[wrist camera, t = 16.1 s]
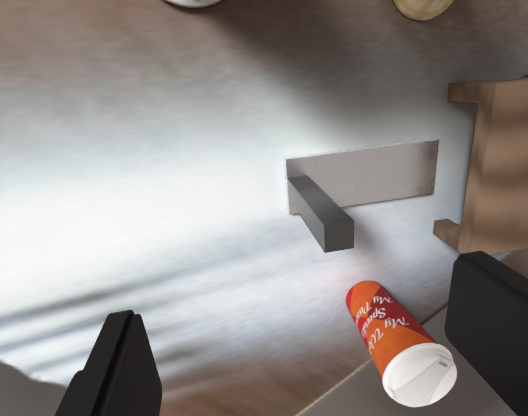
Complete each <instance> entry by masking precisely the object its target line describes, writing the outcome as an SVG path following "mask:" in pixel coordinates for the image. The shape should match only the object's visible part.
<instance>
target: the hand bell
mask: <svg viewBox="0 0 528 416" xmlns="http://www.w3.org/2000/svg"><path fill="white" fill-rule="evenodd" d="M393 1H394V3H395V5H396V7H397V8H398V9H399V11H400V12H401V13H403V14H404V15H405V16H406V17H408V18H411V19H414V20H419V21H423V20H428V19H432V18H434V17H436V16H438V15H440V14H441V13H443V12H444V11H445V10H446V9H447V8H448V7H449V6H450V5H451V3H452V2H453V1H454V0H393Z"/></svg>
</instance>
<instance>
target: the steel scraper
mask: <svg viewBox="0 0 528 416" xmlns="http://www.w3.org/2000/svg"><path fill="white" fill-rule="evenodd" d="M438 143H439V140H437V139H426V140H418V141H410V142H402V143H394V144H387V145H379V146H371V147H363V148H355V149H347V150H340V151H332V152H324V153H316V154H308V155H301V156H293V157H285V158H284V167H285V181H286V194H287V208H288V213H289V214H296V213H299V214H300V216H301V217H302V219H303V221H304V222H305V224H306V225H307V227H308V228H309V230H310V231H311V233H312V234H313V236H314V237H315V239H316V240H317V242H318V243H319V245H320V246H321V248H322V249H323V251H324V252H325V253H326V252H332V251H339V250H345V249H351V248H354V220H353V219H352V218H351V217H350V216H349V215H348V214H346V213H345V212H344V211H343V210H342V209H341V208H340V207H344V206H351V205H358V204H365V203H371V202H378V201H385V200H392V199H399V198H406V197H412V196H419V195H426V194H433V191H434V181H435V172H436V162H437V153H438Z"/></svg>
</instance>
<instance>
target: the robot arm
mask: <svg viewBox="0 0 528 416" xmlns="http://www.w3.org/2000/svg"><path fill="white" fill-rule="evenodd" d="M165 1H167V2H170V3H172V4H175V5H177V6H183V7H188V8H201V7H206V6H210V5H214V4H216V3H218V2H220V1H222V0H199V1H197V0H165ZM445 334H446V337H447V338H448V340H449V341H450V343H451V344H452V345H453V346H454V347H455V348H456V349H457V350H458V351H459V352H460V353H461V354H462V356H463V357H464V358H465V359H466V360H467V361H468V362H469V363H470V364H471V365H472V366H473V368H474V369H475V370H476V371H477V372H478V373H479V374H480V375H481V376H482V377H483V379H484V380H485V381H486V382H487V383H488V384H489V385H490V386H491V387H492V388H493V389H494V390H495V392H496V393H497V394H498V395H499V396H500V397H501V398H502V399H503V400H504V401H505V403H506V404H507V405H508V406H509V407H510V408H511V409H512V410H513V411H514V412H515V413H516V414H517V416H528V279H527V278H525V277H524V276H522V275H521V274H519V273H517V272H516V271H514V270H512V269H511V268H509V267H508V266H506V265H504V264H503V263H501V262H500V261H498V260H496V259H495V258H493V257H492V256H490V255H488V254H487V253H485V252H483V251H475V252H469V253H463V254H460V255H459V257H458V259H457V260H455V262H454V265H453V272H452V280H451V287H450V294H449V301H448V308H447V315H446V323H445ZM161 400H162V385H161V381H160V378H159V374H158V371H157V368H156V364H155V361H154V357H153V354H152V351H151V347H150V344H149V340H148V337H147V334H146V330H145V327H144V324H143V320H142V317H141V315H140V314H136V315H135V314H134V312H133V311H132V310H127V311H121V312H115V313H110V314H109V315H108V316H107V318H106V320H105V323H104V325H103V327H102V329H101V331H100V334H99V336H98V338H97V340H96V343H95V345H94V347H93V349H92V351H91V354H90V356H89V358H88V360H87V363H86V365H85V367H84V369H83V370H80V371H78V372H77V373H76V374H75V375H74V377H73V378H72V380H71V382H70V384H69V387H68V389H67V391H66V393H65V395H64V397H63V400H62V401H61V404H60V406H59V408H58V410H57V412H56V414H55V416H159V412H160V406H161Z"/></svg>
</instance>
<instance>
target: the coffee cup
mask: <svg viewBox="0 0 528 416" xmlns="http://www.w3.org/2000/svg"><path fill="white" fill-rule="evenodd" d="M346 304H347V307H348V310H349V312H350V314H351V316H352V318H353V320H354V322H355V324H356V326H357V328H358V330H359V332H360V334H361V336H362V338H363V340H364V342H365V344H366V346H367V348H368V350H369V352H370V354H371V356H372V358H373V360H374V362H375V364H376V366H377V368H378V370H379V372H380V374H381V376H382V378H383V386H384V389H385V391H386V392H387V393H388V395H389V396H390V397H391V398H393V399H394V400H395V401H396V402H398V403H400V404H403V405H406V406H409V407H420V406H425V405H429V404H432V403H434V402H436V401H438V400H439V399H441V398H442V397H443V396H445V395H446V394H447V393H448V392H449V391H450V389H451V388H452V387H453V385H454V383H455V381H456V377H457V370H456V366H455V364H454V362H453V357H452V354H451V353H450V351H449V350H448V349H447V348H445V347H444V346H442V345H440V344H438V343H437V342H436V341H435V340H434V339H433V338H432V337H431V336H430V335H429V334H428V333H427V332H426V331H425V330H424V329H423V327H422V326H421V325H420V324H419V323H418V322H417V321H416V320H415V319H414V318H413V317H412V316H411V315H410V314H409V313H408V312H407V311H406V310H405V309H404V308H403V307H402V306H401V305H400V304H399V303H398V302H397V301H396V300H395V299H394V298H393V297H392V296H391V295H390V294H389V293H388V292H387V291H386V290H385V289H384V288H383V287H382V286H381V285H380V284H379V283H377V282H375V281H363V282H360V283H358V284H356V285H355V286H353V287H352V288H351V289H350V291H349V292H348V294H347V297H346Z"/></svg>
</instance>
